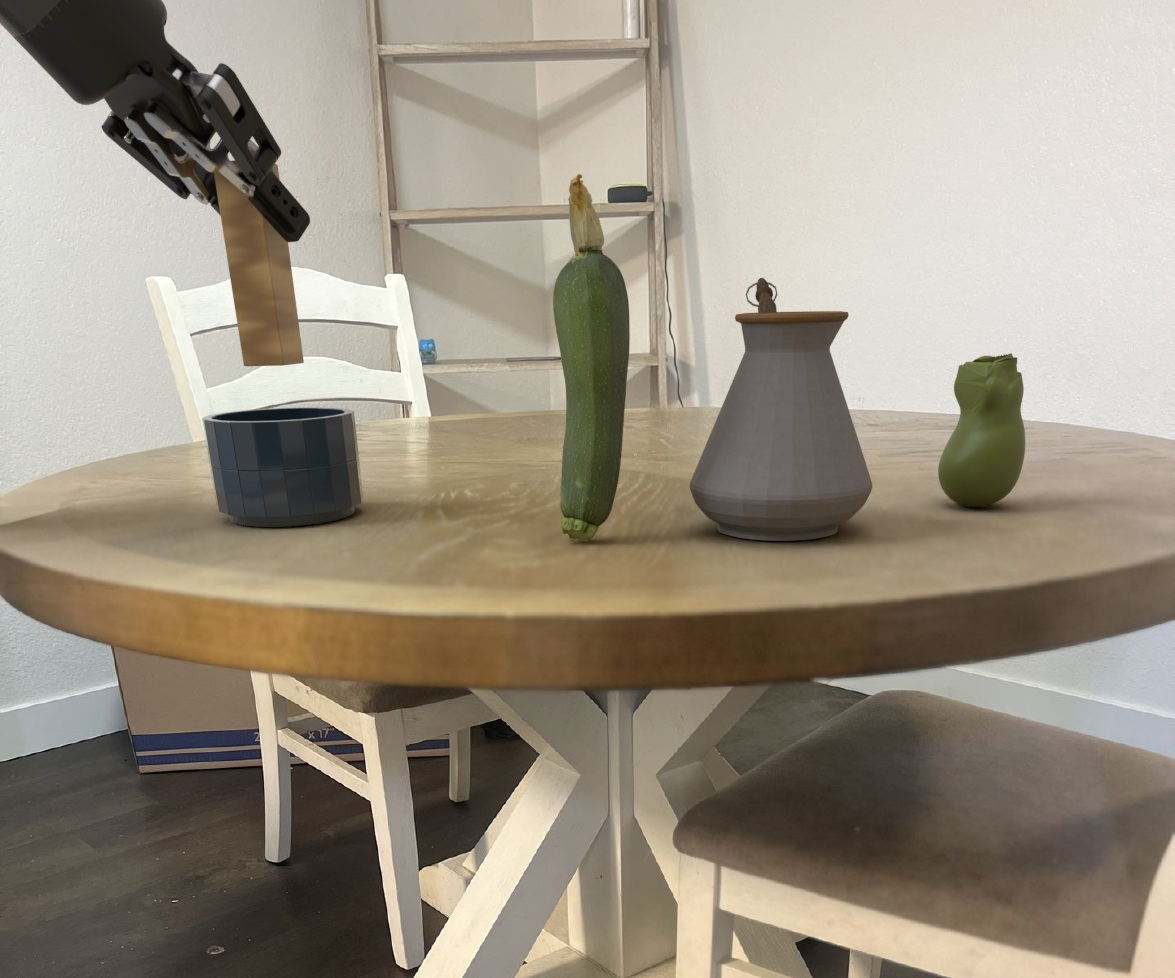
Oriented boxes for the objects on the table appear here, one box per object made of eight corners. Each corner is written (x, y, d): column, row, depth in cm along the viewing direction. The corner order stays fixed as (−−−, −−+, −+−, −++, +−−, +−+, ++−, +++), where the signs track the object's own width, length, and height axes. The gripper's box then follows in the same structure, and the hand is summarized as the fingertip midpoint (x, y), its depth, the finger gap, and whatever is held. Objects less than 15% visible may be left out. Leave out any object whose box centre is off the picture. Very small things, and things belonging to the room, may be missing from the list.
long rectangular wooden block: (243, 366, 71) (211, 161, 66) (265, 364, 73) (236, 167, 68) (283, 365, 70) (254, 158, 65) (304, 363, 73) (278, 164, 68)
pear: (1031, 510, 72) (1055, 353, 67) (961, 515, 71) (982, 356, 66) (985, 497, 77) (1005, 350, 72) (919, 501, 76) (936, 352, 71)
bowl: (191, 527, 73) (172, 422, 70) (264, 501, 82) (250, 407, 79) (325, 531, 70) (312, 422, 67) (386, 504, 79) (376, 407, 76)
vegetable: (596, 531, 68) (590, 181, 60) (645, 540, 66) (646, 174, 57) (546, 542, 66) (533, 176, 57) (595, 552, 63) (588, 169, 54)
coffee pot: (886, 547, 62) (913, 267, 56) (693, 549, 63) (699, 272, 56) (826, 488, 82) (841, 276, 75) (678, 491, 82) (682, 279, 76)
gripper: (150, -108, 53) (373, 181, 66) (38, -42, 62) (254, 200, 75) (70, 2, 52) (313, 274, 65) (-33, 53, 60) (199, 283, 74)
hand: (280, 233), depth 70 cm, fingers closed on long rectangular wooden block, 4 cm apart
